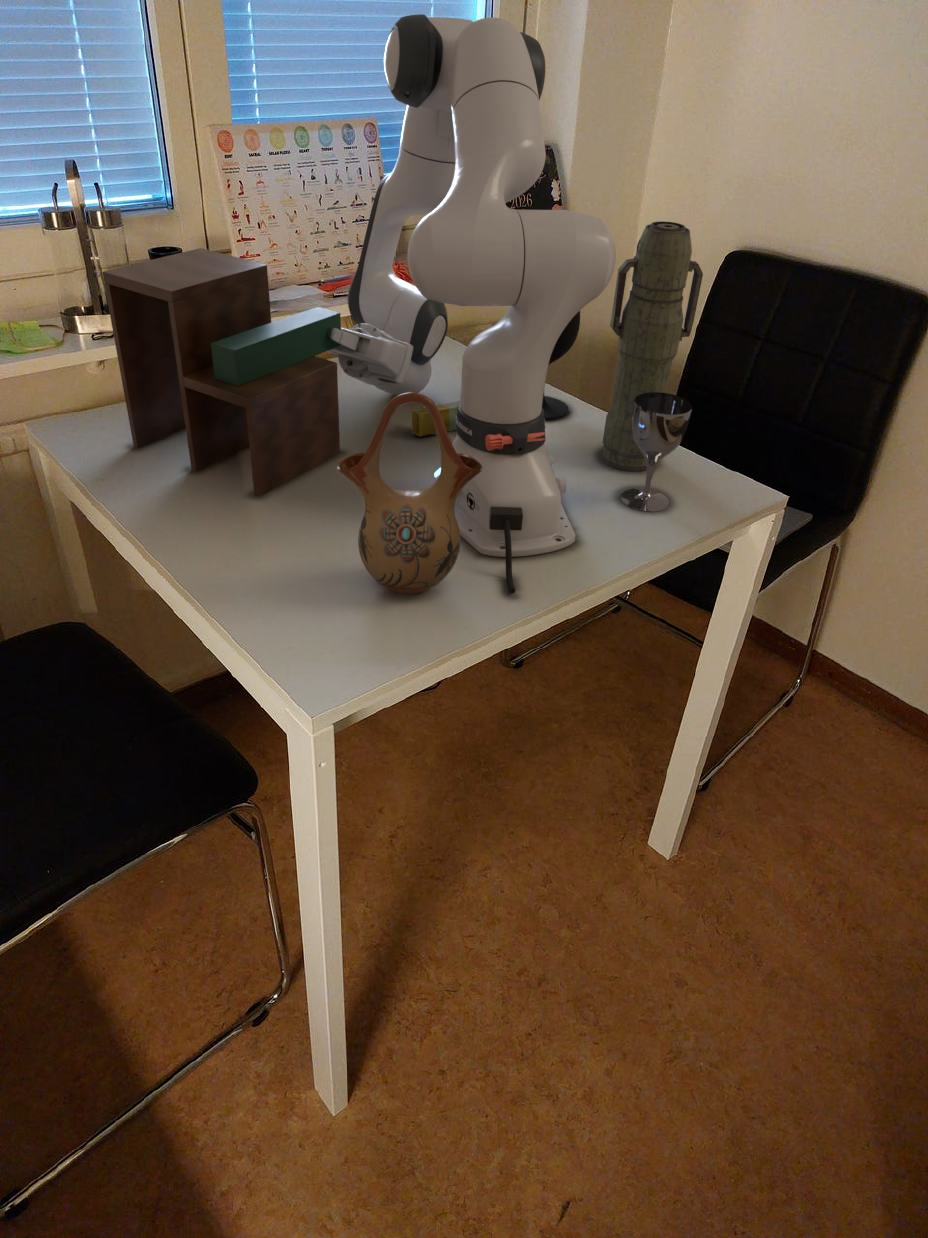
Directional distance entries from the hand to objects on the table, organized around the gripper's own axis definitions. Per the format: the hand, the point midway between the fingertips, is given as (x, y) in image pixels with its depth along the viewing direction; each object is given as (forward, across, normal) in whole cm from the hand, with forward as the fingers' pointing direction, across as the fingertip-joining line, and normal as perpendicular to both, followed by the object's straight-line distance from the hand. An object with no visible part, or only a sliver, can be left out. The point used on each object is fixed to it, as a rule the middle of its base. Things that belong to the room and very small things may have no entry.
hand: (315, 328), depth 134 cm
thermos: (-30, +43, +3) cm, 52 cm away
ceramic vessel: (+14, +36, +28) cm, 48 cm away
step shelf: (+1, -7, +21) cm, 22 cm away
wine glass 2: (-20, +51, +9) cm, 55 cm away
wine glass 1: (-37, +22, -1) cm, 43 cm away
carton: (+5, 0, +6) cm, 8 cm away
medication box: (-22, +14, +8) cm, 27 cm away
